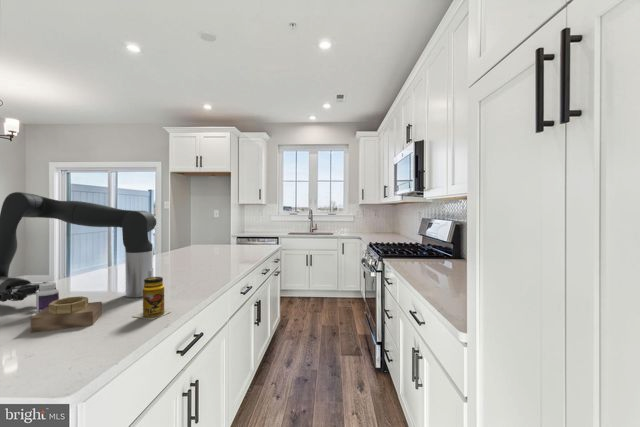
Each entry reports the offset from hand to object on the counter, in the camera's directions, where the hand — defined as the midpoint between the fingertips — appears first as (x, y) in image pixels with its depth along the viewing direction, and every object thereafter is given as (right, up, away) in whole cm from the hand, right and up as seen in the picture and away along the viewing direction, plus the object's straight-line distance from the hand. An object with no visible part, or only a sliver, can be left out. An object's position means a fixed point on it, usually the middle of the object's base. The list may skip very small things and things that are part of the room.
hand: (39, 293), depth 99 cm
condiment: (+39, -7, -2) cm, 39 cm away
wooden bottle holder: (+18, -6, -9) cm, 21 cm away
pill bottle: (+5, -6, -2) cm, 8 cm away
